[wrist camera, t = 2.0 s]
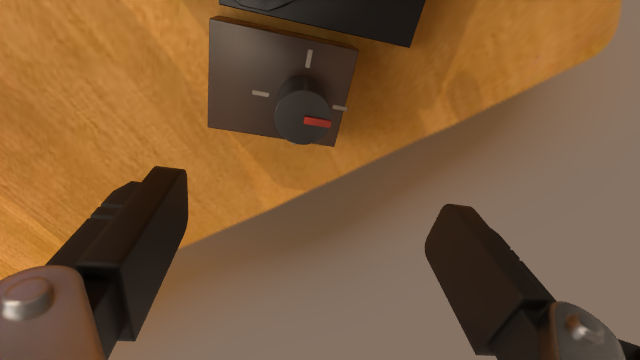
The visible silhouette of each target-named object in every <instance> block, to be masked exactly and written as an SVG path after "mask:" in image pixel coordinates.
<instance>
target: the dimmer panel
mask: <svg viewBox="0 0 640 360" xmlns="http://www.w3.org/2000/svg"><path fill="white" fill-rule="evenodd" d="M358 52H359V51H358V50H357V49H356V48H355V47H353V46H352V45H348V44H343V43H339V42H334V41H330V40H325V39H321V38H316V37H312V36H307V35H303V34H298V33H294V32H289V31H285V30H280V29H276V28H271V27H267V26H262V25H258V24H253V23H249V22H244V21H240V20H235V19H231V18H226V17H222V16H215V17H213V18H210V20H209V79H208V127H210V128H216V129H223V130H229V131H236V132H242V133H249V134H255V135H261V136H268V137H274V138H281V139H285V138H284V137H283V136H282V135H281V134H280V133H279V131H278V129H277V127H276V125H275V119H274V115H275V106H276V98H277V93H278V90H279V88H280V87H281V85H282V84H283V83H284V82H285V81H286V80H288V79H289V78H292V77H294V76H308V77H311V78H313V79H315V80H316V81H317V82H318V83H319V84H320V85H321V86H322V88H323V90H324V92H325V95H326V98H327V101H328V103H329V106H330V109H331V115H332V120H331V121H332V122H331V126H330V128H329V130H328V131H327V133H326V134H325V135H324V136H323V137H322V138H321V139H319V140H318V141H316V142H314V143H313V144H319V145H326V146H332V147H334V145H335V142H336V138H337V134H338V130H339V126H340V122H341V118H342V114H343V111H347V110H348V107H345V103H346V99H347V95H348V91H349V87H350V83H351V79H352V76H353V72H354V68H355V64H356V60H357V56H358ZM292 144H295V143H292Z"/></svg>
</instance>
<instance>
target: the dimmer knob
mask: <svg viewBox="0 0 640 360" xmlns="http://www.w3.org/2000/svg"><path fill="white" fill-rule="evenodd" d="M274 119H275V125H276V127H277V129H278V131H279V133H280V134H281V135H282V136H283V137H284V138H285V139H287V140H288V141H290V142H292V143H295V144H311V143H314V142H316V141H318V140H319V139H321V138H322V137H323V136H324V135H325V134H326V133H327V131H328V130H329V128H330V126H331V122H332V121H331V120H332V115H331V109H330V106H329V103H328V101H327V98H326V95H325V92H324V90H323V88H322V86H321V85H320V84H319V83H318V82H317V81H316V80H315V79H313V78H311V77H308V76H294V77H292V78H289V79H288V80H286V81H285V82H284V83H283V84H282V85H281V87H280V88H279V90H278V93H277V98H276V106H275V115H274Z"/></svg>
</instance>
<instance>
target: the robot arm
mask: <svg viewBox="0 0 640 360" xmlns="http://www.w3.org/2000/svg"><path fill="white" fill-rule="evenodd" d="M187 221H188V191H187V173H186V171H185V170H184V169H176V168H168V167H160V166H155V167H154V168H153V169H152V170H151V171H150V172H149V174H148V175H147V176H146V177H145V179H144V180H143V181H142V182H134V181H131V182H129V183H127V184H126V185H124V186H122V187H120V188H118V189H116V190H114V191H113V192H112V193H111V194H110V195H109V196H108V197H107V198H106V199H105V201H104V202H103V203H102V204H101V207H98V208H97V209H96V210H95V211H94V213H93V214H92V215H91V218H88V219H87V220H86V221H85V222H84V223H83V224H82V226H81V227H80V228H79V229H78V230H77V231H76V232H75V233H74V234H73V235H72V236H71V237H70V239H69V240H68V241H67V242H66V243H65V244H64V245H63V246H62V247H61V248H60V249H59V251H58V252H57V253H56V254H55V255H54V256H53V257H52V258H51V259H50V260H49V261H48V262H47V264H46V265H45V266H39V267H34V268H30V269H26V270H23V271H20V272H17V273H15V274H13V275H10V276H8V277H6V278H4V279H2V280H0V360H108V358H109V356H110V354H111V352H112V350H113V348H114V346H115V344H116V342H117V341H135V340H136V338H137V336H138V334H139V332H140V330H141V327H142V325H143V323H144V321H145V319H146V317H147V314H148V312H149V310H150V308H151V306H152V303H153V301H154V299H155V297H156V295H157V293H158V290H159V288H160V286H161V284H162V281H163V279H164V277H165V275H166V273H167V270H168V268H169V266H170V264H171V262H172V259H173V258H174V255H175V253H176V251H177V249H178V247H179V244H180V242H181V240H182V238H183V236H184V233H185V230H186V227H187ZM425 254H426V257H427V260H428V261H429V263H430V265H431V267H432V269H433V271H434V273H435V275H436V277H437V279H438V281H439V283H440V285H441V287H442V289H443V291H444V293H445V295H446V297H447V299H448V301H449V303H450V305H451V307H452V309H453V311H454V313H455V315H456V317H457V319H458V321H459V323H460V324H461V327H462V329H463V330H464V332H465V334H466V336H467V338H468V340H469V342H470V344H471V346H472V348H473V350H474V352H475V354H476V355H491V356H496V358H497V360H640V347H639V346H637V345H634V344H631V343H628V342H625V341H622V340H619V339H617V338H616V336H615V335H614V334H613V333H612V332H611V330H610V329H609V328H608V327H607V326H606V325H605V324H604V323H602V322H601V321H600V320H599V319H597V318H596V317H594V316H593V315H592V314H590V313H589V312H587V311H586V310H584V309H582V308H580V307H578V306H576V305H573V304H570V303H567V302H562V301H558V302H557V301H556V300H555V299H554V298H553V297H552V295H551V294H550V293H549V292H548V291H547V290H546V288H545V287H544V286H543V285H542V284H541V283H540V282H539V280H538V279H537V278H536V277H535V276H534V274H533V273H532V272H531V271H530V270H529V269H528V267H527V266H526V265H525V264H524V263H523V262H522V261H520V260H519V259H520V258H519V257H518V256H517V255H516V254H515V252H514V251H513V250H510V246H509V245H508V244H507V243H506V242H505V241H504V240H503V238H502V237H501V236H500V235H499V234H498V233H496V232H495V231H494V230H493V229H491V228H490V227H489V226H488V225H487V224H486V223H485V222H484V220H483V219H482V218H481V217H480V215H479V214H478V213H477V212H476V211H475V210H474V209H473V208H472V207H470V206H462V205H454V204H446V205H445V206H443V208H442V209H441V211H440V213H439V215H438V217H437V219H436V221H435V223H434V225H433V227H432V229H431V231H430V233H429V235H428V237H427V239H426V242H425Z"/></svg>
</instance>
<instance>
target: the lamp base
mask: <svg viewBox="0 0 640 360" xmlns="http://www.w3.org/2000/svg"><path fill="white" fill-rule="evenodd" d="M424 3H425V0H219V4H220V5H224V6H228V7H233V8H237V9H241V10H246V11H250V12H255V13H259V14H263V15H268V16H272V17H276V18H281V19H285V20H290V21H294V22H298V23H303V24H307V25H311V26H316V27H320V28H325V29H329V30H333V31H338V32H342V33H346V34H351V35H355V36H360V37H364V38H368V39H373V40H377V41H381V42H386V43H390V44H395V45H399V46H403V47H408V48H410V45H411V42H412V39H413V36H414V33H415V30H416V27H417V24H418V21H419V18H420V15H421V12H422V9H423V6H424Z"/></svg>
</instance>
